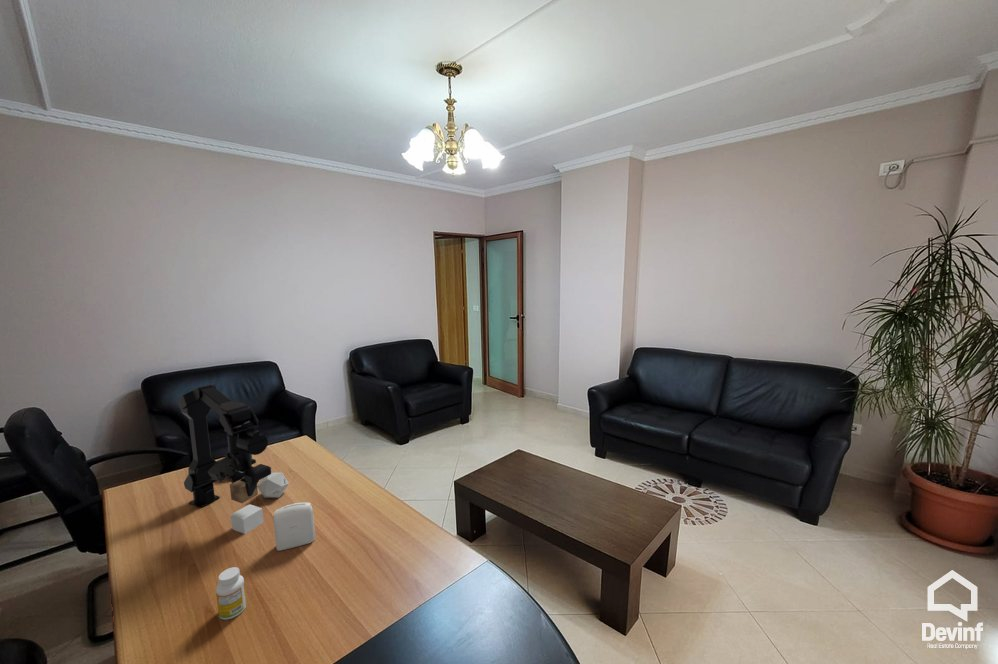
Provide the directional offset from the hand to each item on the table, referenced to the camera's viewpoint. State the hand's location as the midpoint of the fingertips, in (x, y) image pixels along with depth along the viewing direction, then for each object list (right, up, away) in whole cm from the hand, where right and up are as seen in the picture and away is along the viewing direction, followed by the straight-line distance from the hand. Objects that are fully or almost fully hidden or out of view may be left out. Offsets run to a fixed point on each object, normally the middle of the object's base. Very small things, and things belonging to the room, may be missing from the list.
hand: (244, 493), depth 118 cm
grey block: (0, -11, +2) cm, 11 cm away
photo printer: (+19, -12, -6) cm, 24 cm away
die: (-2, -9, +18) cm, 20 cm away
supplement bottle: (+17, -15, -29) cm, 37 cm away
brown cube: (0, -1, 0) cm, 1 cm away
